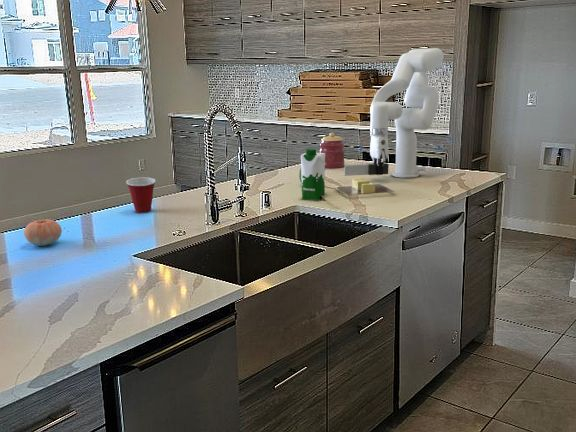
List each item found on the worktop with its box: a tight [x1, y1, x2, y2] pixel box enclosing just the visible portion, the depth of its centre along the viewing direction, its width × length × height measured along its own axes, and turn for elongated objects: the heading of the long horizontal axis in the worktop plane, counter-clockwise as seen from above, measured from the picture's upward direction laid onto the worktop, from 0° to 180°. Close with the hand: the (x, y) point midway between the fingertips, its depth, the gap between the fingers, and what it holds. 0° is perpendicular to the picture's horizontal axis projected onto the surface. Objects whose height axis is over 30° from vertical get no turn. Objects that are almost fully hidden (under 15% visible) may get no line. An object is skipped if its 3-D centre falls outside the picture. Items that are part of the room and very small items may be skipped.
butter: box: [351, 177, 370, 190], centre depth 247 cm, size 5×7×4 cm
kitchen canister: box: [319, 131, 346, 169], centre depth 306 cm, size 13×13×18 cm
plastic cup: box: [125, 176, 157, 214], centre depth 221 cm, size 11×11×12 cm
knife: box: [344, 162, 390, 177], centre depth 258 cm, size 20×2×4 cm, turn 105°
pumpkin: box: [23, 218, 63, 247], centre depth 183 cm, size 11×11×8 cm
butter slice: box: [362, 182, 376, 194], centre depth 239 cm, size 5×2×4 cm, turn 105°
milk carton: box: [300, 148, 326, 201], centre depth 235 cm, size 9×9×20 cm
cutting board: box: [335, 183, 396, 196], centre depth 245 cm, size 20×16×2 cm
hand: (377, 173), depth 260 cm, fingers closed on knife, 2 cm apart
